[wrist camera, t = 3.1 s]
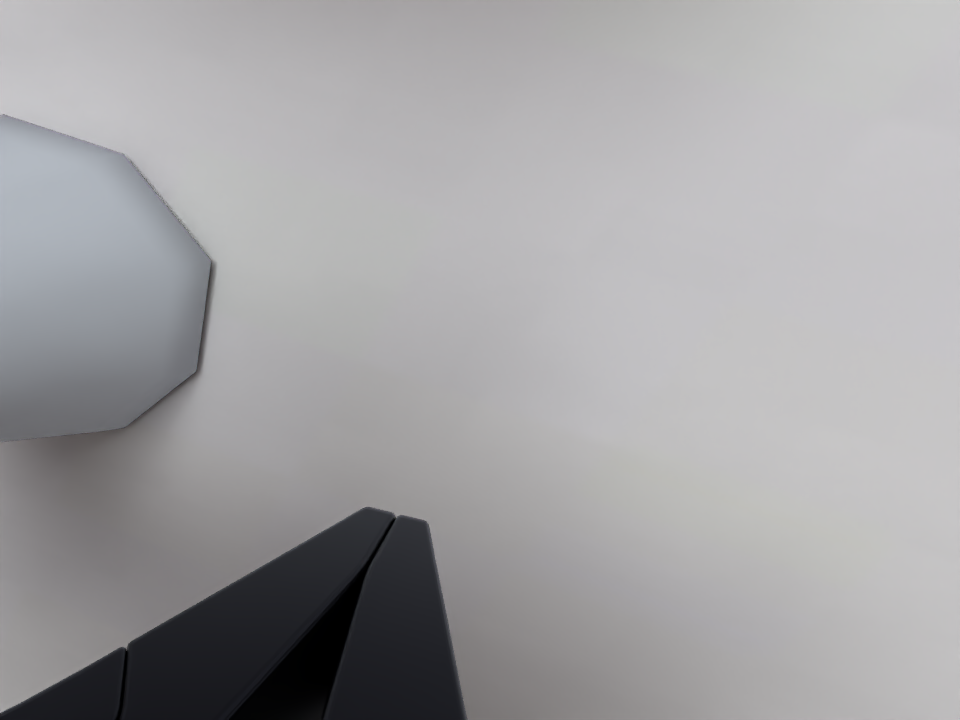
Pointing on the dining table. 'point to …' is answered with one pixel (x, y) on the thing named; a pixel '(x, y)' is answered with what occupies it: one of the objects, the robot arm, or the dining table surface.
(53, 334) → the flask
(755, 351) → the dining table surface
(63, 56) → the dining table surface
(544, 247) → the dining table surface
